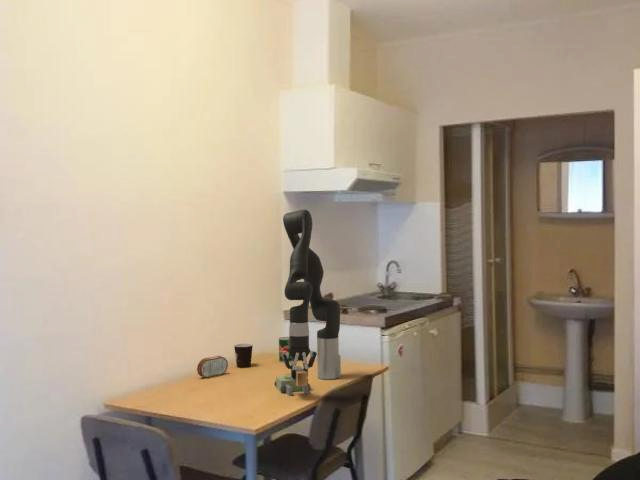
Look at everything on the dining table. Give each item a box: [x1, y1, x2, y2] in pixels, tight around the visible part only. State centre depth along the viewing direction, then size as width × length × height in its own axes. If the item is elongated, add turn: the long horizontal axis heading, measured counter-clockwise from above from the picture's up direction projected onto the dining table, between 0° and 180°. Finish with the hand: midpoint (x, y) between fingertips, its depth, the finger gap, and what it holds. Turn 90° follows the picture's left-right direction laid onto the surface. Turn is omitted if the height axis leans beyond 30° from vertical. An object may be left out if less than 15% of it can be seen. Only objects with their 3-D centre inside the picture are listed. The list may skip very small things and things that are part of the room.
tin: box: [196, 355, 229, 379], centre depth 295 cm, size 15×3×8 cm, turn 134°
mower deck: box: [273, 373, 311, 397], centre depth 267 cm, size 12×15×6 cm
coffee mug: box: [233, 343, 253, 369], centre depth 316 cm, size 12×9×10 cm
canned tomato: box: [278, 336, 292, 363], centre depth 326 cm, size 8×8×11 cm
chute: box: [291, 365, 308, 386], centre depth 257 cm, size 4×10×5 cm, turn 17°
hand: (299, 378), depth 256 cm, fingers closed on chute, 3 cm apart
